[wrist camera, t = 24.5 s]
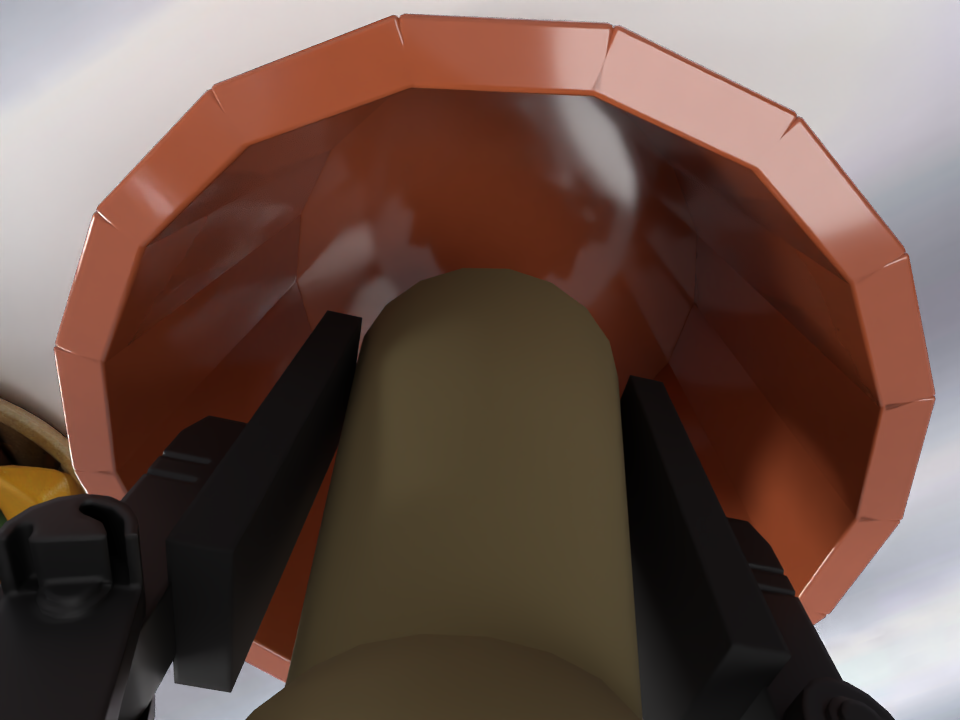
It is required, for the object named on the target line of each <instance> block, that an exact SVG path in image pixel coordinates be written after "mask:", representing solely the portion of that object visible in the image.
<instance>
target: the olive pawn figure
mask: <svg viewBox="0 0 960 720" xmlns="http://www.w3.org/2000/svg"><path fill="white" fill-rule="evenodd" d="M246 720H643V718H642V704H641V690H640V675H639V661H638V647H637V633H636V619H635V605H634V591H633V577H632V563H631V549H630V535H629V521H628V507H627V493H626V478H625V464H624V450H623V436H622V422H621V408H620V394H619V380H618V374H617V370H616V366H615V362H614V358H613V354H612V350H611V346H610V342H609V340H608V339H607V337H606V336H605V334H604V333H603V331H602V330H601V328H600V327H599V325H598V324H597V323H596V321H595V320H594V318H593V317H592V315H591V314H590V312H589V311H588V309H587V308H586V307H584V306H583V305H582V304H580V303H579V302H577V301H576V300H575V299H573V298H572V297H571V296H569V295H568V294H566V293H565V292H564V291H562V290H561V289H560V288H558V287H557V286H556V285H554V284H553V283H551V282H548V281H545V280H542V279H539V278H536V277H533V276H530V275H527V274H523V273H520V272H517V271H514V270H511V269H497V268H461V269H458V270H454V271H451V272H448V273H444V274H441V275H438V276H434V277H431V278H428V279H424V280H421V281H419V282H418V283H416V284H415V285H413V286H412V287H410V288H409V289H408V290H406V291H405V292H403V293H402V294H400V295H399V296H398V297H396V298H395V299H393V300H392V301H391V302H389V303H388V304H386V305H385V307H384V308H383V310H382V311H381V312H380V314H379V315H378V317H377V318H376V320H375V321H374V322H373V324H372V325H371V327H370V328H369V329H368V331H367V332H366V334H365V335H364V337H363V341H362V345H361V349H360V353H359V357H358V361H357V365H356V369H355V373H354V378H353V382H352V386H351V391H350V395H349V400H348V404H347V409H346V413H345V418H344V422H343V427H342V431H341V436H340V441H339V445H338V450H337V454H336V459H335V463H334V468H333V472H332V477H331V481H330V486H329V490H328V495H327V499H326V504H325V508H324V513H323V517H322V522H321V526H320V531H319V535H318V540H317V544H316V549H315V553H314V558H313V563H312V567H311V572H310V576H309V581H308V585H307V590H306V594H305V599H304V603H303V608H302V612H301V617H300V621H299V626H298V630H297V635H296V639H295V644H294V648H293V653H292V657H291V662H290V666H289V671H288V676H287V680H286V685H285V688H283V689H282V690H281V691H279V692H278V693H277V694H275V695H274V696H273V697H271V698H270V699H269V700H267V701H266V702H265V703H263V704H262V705H261V706H259V707H258V708H257V709H255V710H254V711H253V712H252V713H251V714H250V715H249V716H248V717H247V719H246Z"/></svg>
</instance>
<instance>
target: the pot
mask: <svg viewBox="0 0 960 720" xmlns="http://www.w3.org/2000/svg"><path fill="white" fill-rule="evenodd" d="M461 268H497V269H511V270H514V271H517V272H520V273H523V274H527V275H530V276H533V277H536V278H539V279H542V280H545V281H548V282H551V283H553V284H554V285H556V286H557V287H558V288H560V289H561V290H562V291H564V292H565V293H566V294H568V295H569V296H571V297H572V298H573V299H575V300H576V301H577V302H579V303H580V304H582V305H583V306H584V307H586V308H587V309H588V311H589V312H590V314H591V315H592V317H593V318H594V320H595V321H596V323H597V324H598V325H599V327H600V328H601V330H602V331H603V333H604V334H605V336H606V337H607V339H608V340H609V342H610V346H611V350H612V354H613V358H614V362H615V366H616V370H617V374H618V380H619V394H620V399H621V396H622V394H623V391H624V389H625V386H626V384H627V381H628V379H629V376H630V375H632V376H637V377H642V378H646V379H651V380H656V381H660V382H663V384H664V386H665V388H666V390H667V392H668V394H669V397H670V399H671V401H672V403H673V405H674V407H675V409H676V411H677V413H678V416H679V418H680V420H681V422H682V424H683V426H684V428H685V430H686V433H687V435H688V437H689V439H690V441H691V443H692V445H693V447H694V450H695V452H696V454H697V456H698V458H699V460H700V462H701V464H702V467H703V469H704V471H705V473H706V475H707V477H708V479H709V481H710V484H711V486H712V488H713V490H714V492H715V494H716V496H717V498H718V501H719V503H720V505H721V507H722V509H723V511H724V513H725V515H726V517H729V518H734V519H739V520H744V521H748V522H749V523H750V524H751V525H752V526H753V527H754V528H755V529H756V530H757V531H758V532H759V533H760V535H761V536H762V537H763V538H764V539H765V540H766V541H767V542H768V543H769V544H770V545H771V547H772V549H773V551H774V553H775V554H776V556H777V558H778V560H779V562H780V564H781V566H782V568H783V569H784V575H786V576H787V577H788V579H789V581H790V583H791V584H792V586H793V588H794V590H795V597H798V598H799V599H800V601H801V603H802V605H803V607H804V609H805V611H806V612H807V614H808V616H809V618H810V620H811V622H812V624H813V625H815V624H816V623H818V622H819V621H820V620H822V619H823V618H825V617H826V614H830V613H831V612H832V610H833V609H834V608H835V606H836V605H837V604H838V602H839V601H840V600H841V599H842V597H843V596H844V595H845V593H846V592H847V591H848V589H849V588H850V587H851V586H852V584H853V583H854V582H855V580H856V579H857V578H858V576H859V575H860V574H861V573H862V571H863V570H864V569H865V567H866V566H867V565H868V563H869V562H870V561H871V560H872V558H873V557H874V556H875V554H876V553H877V552H878V550H879V549H880V548H881V547H882V545H883V544H884V543H885V541H886V540H887V539H888V537H889V536H890V535H891V534H892V532H893V531H894V530H895V528H896V527H897V526H898V524H899V523H900V520H901V519H902V518H903V515H904V511H905V507H906V504H907V500H908V497H909V493H910V489H911V486H912V482H913V479H914V475H915V471H916V468H917V464H918V460H919V457H920V453H921V450H922V446H923V442H924V439H925V435H926V432H927V428H928V424H929V421H930V417H931V414H932V410H933V406H934V403H935V396H934V395H935V389H934V384H933V379H932V374H931V368H930V363H929V358H928V353H927V347H926V342H925V337H924V332H923V327H922V321H921V316H920V311H919V306H918V300H917V295H916V290H915V285H914V280H913V274H912V269H911V264H910V259H909V255H908V254H907V253H906V251H905V248H904V246H903V245H902V243H901V242H900V241H899V240H898V238H897V237H896V236H895V235H894V233H893V232H892V231H891V229H890V228H889V227H888V226H887V224H886V223H885V222H884V221H883V219H882V218H881V217H880V215H879V214H878V213H877V212H876V210H875V209H874V208H873V207H872V205H871V204H870V203H869V202H868V200H867V199H866V198H865V196H864V195H863V194H862V193H861V191H860V190H859V189H858V188H857V186H856V185H855V184H854V183H853V181H852V180H851V179H850V177H849V176H848V175H847V174H846V172H845V171H844V170H843V169H842V167H841V166H840V165H839V164H838V162H837V161H836V160H835V158H834V157H833V156H832V155H831V153H830V152H829V151H828V150H827V148H826V147H825V146H824V144H823V143H822V142H821V141H820V139H819V138H818V137H817V136H816V134H815V133H814V132H813V131H812V129H811V128H810V127H809V125H808V124H807V123H806V122H805V120H804V119H803V118H802V117H799V116H797V114H796V112H795V111H793V110H791V109H789V108H787V107H785V106H783V105H781V104H779V103H777V102H775V101H773V100H771V99H769V98H767V97H765V96H763V95H761V94H759V93H757V92H755V91H753V90H751V89H749V88H747V87H745V86H743V85H740V84H738V83H736V82H734V81H732V80H730V79H728V78H726V77H724V76H722V75H720V74H718V73H716V72H714V71H712V70H710V69H708V68H706V67H704V66H702V65H700V64H698V63H696V62H694V61H692V60H690V59H688V58H686V57H683V56H681V55H679V54H677V53H675V52H673V51H671V50H669V49H667V48H665V47H663V46H661V45H659V44H657V43H655V42H653V41H651V40H649V39H647V38H645V37H643V36H641V35H639V34H637V33H635V32H633V31H631V30H629V29H626V28H624V27H622V26H620V25H615V26H612V25H611V24H610V23H608V22H585V21H562V20H539V19H516V18H493V17H470V16H447V15H423V14H403V15H400V17H399V16H396V15H392V16H389V17H387V18H384V19H382V20H379V21H376V22H374V23H371V24H369V25H366V26H364V27H361V28H358V29H356V30H353V31H351V32H348V33H346V34H343V35H340V36H338V37H335V38H333V39H330V40H327V41H325V42H322V43H320V44H317V45H315V46H312V47H309V48H307V49H304V50H302V51H299V52H297V53H294V54H291V55H289V56H286V57H284V58H281V59H278V60H276V61H273V62H271V63H268V64H266V65H263V66H260V67H258V68H255V69H253V70H250V71H248V72H245V73H242V74H240V75H237V76H235V77H232V78H229V79H227V80H224V81H222V82H219V83H217V84H214V85H213V87H212V89H210V90H207V91H206V92H205V93H204V94H203V95H202V96H201V97H200V98H199V99H198V100H197V101H196V102H195V103H194V104H193V105H192V107H191V108H190V109H189V110H188V111H187V112H186V113H185V114H184V115H183V116H182V117H181V118H180V119H179V120H178V121H177V122H176V123H175V125H174V126H173V127H172V128H171V129H170V130H169V131H168V132H167V133H166V134H165V135H164V136H163V137H162V138H161V139H160V140H159V141H158V143H157V144H156V145H155V146H154V147H153V148H152V149H151V150H150V151H149V152H148V153H147V154H146V155H145V156H144V157H143V158H142V159H141V161H140V162H139V163H138V164H137V165H136V166H135V167H134V168H133V169H132V170H131V171H130V172H129V173H128V174H127V175H126V176H125V177H124V179H123V180H122V181H121V182H120V183H119V184H118V185H117V186H116V187H115V188H114V189H113V190H112V191H111V192H110V193H109V194H108V195H107V197H106V198H105V199H104V200H103V201H102V202H101V203H100V204H99V205H98V207H97V211H96V212H95V213H94V214H93V216H92V219H91V223H90V226H89V229H88V233H87V236H86V239H85V243H84V246H83V250H82V253H81V256H80V260H79V263H78V267H77V270H76V273H75V277H74V280H73V283H72V287H71V290H70V294H69V297H68V300H67V304H66V307H65V311H64V314H63V317H62V321H61V324H60V327H59V331H58V334H57V338H56V341H55V345H56V346H55V347H54V355H55V362H56V368H57V374H58V380H59V387H60V393H61V399H62V406H63V412H64V418H65V424H66V431H67V437H68V443H69V449H70V456H71V462H72V468H73V469H75V470H74V473H75V474H76V476H77V478H78V479H79V481H80V483H81V485H82V486H83V488H84V490H85V491H86V493H87V494H95V495H104V496H111V497H113V498H115V499H117V500H119V501H120V500H121V499H122V498H123V497H124V496H125V495H126V494H127V492H128V491H129V490H130V489H131V488H132V487H133V486H134V484H135V483H136V482H137V481H138V480H139V479H140V477H141V476H142V475H143V474H146V473H147V471H148V468H149V467H150V466H151V465H152V464H153V463H154V461H155V460H156V459H157V458H158V457H159V456H162V455H163V451H164V450H165V449H166V448H167V446H168V445H169V444H170V443H171V442H172V441H173V440H174V438H175V437H176V436H177V435H178V434H179V433H180V432H181V430H183V429H185V428H187V427H189V426H191V425H192V424H194V423H196V422H198V421H200V420H201V419H203V418H205V417H207V416H209V415H210V416H215V417H220V418H225V419H230V420H235V421H240V422H245V423H248V422H249V421H250V419H251V418H252V416H253V415H254V414H255V412H256V411H257V409H258V408H259V406H260V405H261V404H262V402H263V401H264V399H265V398H266V397H267V395H268V394H269V392H270V391H271V389H272V388H273V387H274V385H275V384H276V382H277V381H278V380H279V378H280V377H281V375H282V374H283V373H284V371H285V370H286V368H287V367H288V365H289V364H290V363H291V361H292V360H293V358H294V357H295V356H296V354H297V353H298V351H299V350H300V348H301V347H302V346H303V344H304V343H305V341H306V340H307V339H308V337H309V336H310V334H311V333H312V331H313V330H314V329H315V327H316V326H317V324H318V323H319V322H320V320H321V319H322V317H323V316H324V315H325V313H326V312H327V310H329V311H334V312H338V313H343V314H348V315H352V316H357V317H362V326H361V333H360V341H359V349H358V357H359V353H360V349H361V345H362V341H363V337H364V335H365V334H366V332H367V331H368V329H369V328H370V327H371V325H372V324H373V322H374V321H375V320H376V318H377V317H378V315H379V314H380V312H381V311H382V310H383V308H384V307H385V305H386V304H388V303H389V302H391V301H392V300H393V299H395V298H396V297H398V296H399V295H400V294H402V293H403V292H405V291H406V290H408V289H409V288H410V287H412V286H413V285H415V284H416V283H418V282H419V281H421V280H424V279H428V278H431V277H434V276H438V275H441V274H444V273H448V272H451V271H454V270H458V269H461ZM358 357H357V361H358ZM356 365H357V364H356ZM337 450H338V447H337ZM337 450H336V452H335V454H334V456H333V459H332V461H331V463H330V466H329V468H328V470H327V473H326V475H325V477H324V480H323V482H322V484H321V486H320V489H319V491H318V493H317V496H316V498H315V500H314V503H313V505H312V507H311V509H310V512H309V514H308V516H307V519H306V521H305V523H304V526H303V528H302V530H301V532H300V535H299V537H298V539H297V542H296V544H295V546H294V549H293V551H292V553H291V556H290V558H289V560H288V562H287V565H286V567H285V569H284V572H283V574H282V576H281V579H280V581H279V583H278V585H277V588H276V590H275V592H274V595H273V597H272V599H271V602H270V604H269V606H268V608H267V611H266V613H265V615H264V618H263V620H262V622H261V625H260V627H259V629H258V632H257V634H256V636H255V638H254V641H253V643H252V645H251V648H250V650H249V652H248V655H247V657H246V659H245V662H247V663H249V664H251V665H253V666H254V667H256V668H258V669H260V670H262V671H264V672H266V673H268V674H269V675H271V676H273V677H275V678H277V679H279V680H281V681H283V682H284V683H286V680H287V676H288V671H289V666H290V662H291V657H292V653H293V648H294V644H295V639H296V635H297V630H298V626H299V621H300V617H301V612H302V608H303V603H304V599H305V594H306V590H307V585H308V581H309V576H310V572H311V567H312V563H313V558H314V553H315V549H316V544H317V540H318V535H319V531H320V526H321V522H322V517H323V513H324V508H325V504H326V499H327V495H328V490H329V486H330V481H331V477H332V472H333V468H334V463H335V459H336V454H337Z"/></svg>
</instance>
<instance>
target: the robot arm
mask: <svg viewBox="0 0 960 720" xmlns="http://www.w3.org/2000/svg"><path fill="white" fill-rule="evenodd" d="M361 326H362V317H357V316H352V315H348V314H343V313H338V312H334V311H329V310H327V312H326V313H325V315H324V316H323V317H322V319H321V320H320V322H319V323H318V324H317V326H316V327H315V329H314V330H313V331H312V333H311V334H310V336H309V337H308V339H307V340H306V341H305V343H304V344H303V346H302V347H301V348H300V350H299V351H298V353H297V354H296V356H295V357H294V358H293V360H292V361H291V363H290V364H289V365H288V367H287V368H286V370H285V371H284V373H283V374H282V375H281V377H280V378H279V380H278V381H277V382H276V384H275V385H274V387H273V388H272V389H271V391H270V392H269V394H268V395H267V397H266V398H265V399H264V401H263V402H262V404H261V405H260V406H259V408H258V409H257V411H256V412H255V414H254V415H253V416H252V418H251V419H250V421H249V422H248V423H245V422H240V421H235V420H230V419H225V418H220V417H215V416H210V415H209V416H207V417H205V418H203V419H201V420H200V421H198V422H196V423H194V424H192V425H191V426H189V427H187V428H185V429H183V430H181V432H180V433H179V434H178V435H177V436H176V437H175V438H174V440H173V441H172V442H171V443H170V444H169V445H168V446H167V448H166V449H165V450H164V451H163V455H162V456H159V457H158V458H157V459H156V460H155V461H154V463H153V464H152V465H151V466H150V467H149V468H148V471H147V473H146V474H143V475H142V476H141V477H140V479H139V480H138V481H137V482H136V483H135V484H134V486H133V487H132V488H131V489H130V490H129V491H128V492H127V494H126V495H125V496H124V497H123V498H122V499H121V500H120V501H119V500H117V499H115V498H113V497H111V496H104V495H95V494H78V495H70V496H62V497H57V498H54V499H51V500H48V501H45V502H43V503H40V504H37V505H34V506H31V507H29V508H27V509H26V510H24V511H23V512H21V513H19V514H18V515H16V516H15V517H13V518H11V519H10V520H8V521H6V522H5V523H4V525H3V526H2V527H1V528H0V583H1V584H0V720H154V717H155V692H156V690H157V688H158V687H159V685H160V683H161V681H162V679H163V677H164V676H165V674H166V672H167V670H168V668H169V667H170V665H171V663H172V661H173V666H174V681H175V683H177V684H183V685H189V686H194V687H200V688H206V689H212V690H218V691H224V692H230V693H231V691H232V689H233V687H234V684H235V682H236V680H237V678H238V675H239V673H240V671H241V668H242V666H243V664H244V661H245V659H246V657H247V655H248V652H249V650H250V648H251V645H252V643H253V641H254V638H255V636H256V634H257V632H258V629H259V627H260V625H261V622H262V620H263V618H264V615H265V613H266V611H267V608H268V606H269V604H270V602H271V599H272V597H273V595H274V592H275V590H276V588H277V585H278V583H279V581H280V579H281V576H282V574H283V572H284V569H285V567H286V565H287V562H288V560H289V558H290V556H291V553H292V551H293V549H294V546H295V544H296V542H297V539H298V537H299V535H300V532H301V530H302V528H303V526H304V523H305V521H306V519H307V516H308V514H309V512H310V509H311V507H312V505H313V503H314V500H315V498H316V496H317V493H318V491H319V489H320V486H321V484H322V482H323V480H324V477H325V475H326V473H327V470H328V468H329V466H330V463H331V461H332V459H333V456H334V454H335V452H336V450H337V447H338V445H339V441H340V436H341V431H342V427H343V422H344V418H345V413H346V409H347V404H348V400H349V395H350V391H351V386H352V382H353V378H354V373H355V369H356V364H357V357H358V349H359V341H360V333H361ZM620 408H621V422H622V436H623V450H624V464H625V478H626V493H627V507H628V521H629V535H630V549H631V563H632V577H633V591H634V605H635V619H636V633H637V647H638V661H639V675H640V690H641V704H642V717H643V720H895V719H894V718H893V717H892V716H891V714H890V713H889V712H888V711H887V710H886V709H885V708H883V707H882V706H881V705H880V704H879V703H878V702H876V701H875V700H874V699H873V698H872V697H871V696H869V695H868V694H867V693H865V692H863V691H862V690H860V689H858V688H856V687H855V686H853V685H851V684H849V683H848V682H845V681H843V680H842V678H841V676H840V674H839V672H838V670H837V669H836V667H835V665H834V663H833V661H832V659H831V657H830V656H829V654H828V652H827V650H826V648H825V646H824V644H823V642H822V641H821V639H820V637H819V635H818V633H817V631H816V629H815V627H814V626H813V624H812V622H811V620H810V618H809V616H808V614H807V612H806V611H805V609H804V607H803V605H802V603H801V601H800V599H799V598H798V597H795V590H794V588H793V586H792V584H791V583H790V581H789V579H788V577H787V576H786V575H784V569H783V568H782V566H781V564H780V562H779V560H778V558H777V556H776V554H775V553H774V551H773V549H772V547H771V545H770V544H769V543H768V542H767V541H766V540H765V539H764V538H763V537H762V536H761V535H760V533H759V532H758V531H757V530H756V529H755V528H754V527H753V526H752V525H751V524H750V523H749V522H748V521H744V520H739V519H734V518H729V517H726V515H725V513H724V511H723V509H722V507H721V505H720V503H719V501H718V498H717V496H716V494H715V492H714V490H713V488H712V486H711V484H710V481H709V479H708V477H707V475H706V473H705V471H704V469H703V467H702V464H701V462H700V460H699V458H698V456H697V454H696V452H695V450H694V447H693V445H692V443H691V441H690V439H689V437H688V435H687V433H686V430H685V428H684V426H683V424H682V422H681V420H680V418H679V416H678V413H677V411H676V409H675V407H674V405H673V403H672V401H671V399H670V397H669V394H668V392H667V390H666V388H665V386H664V384H663V382H660V381H656V380H651V379H646V378H642V377H637V376H632V375H630V376H629V379H628V381H627V384H626V386H625V389H624V391H623V394H622V396H621V399H620Z"/></svg>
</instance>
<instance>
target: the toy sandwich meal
mask: <svg viewBox="0 0 960 720" xmlns="http://www.w3.org/2000/svg"><path fill="white" fill-rule="evenodd" d="M74 470H75V469H73V468H72V462H71V456H70V449H69V443H68V439H67V438H66V437H64V436H63V435H62V434H61V433H60V432H58V431H57V430H56V429H54V428H53V427H52V426H50V425H49V424H47V423H46V422H44V421H43V420H41V419H40V418H38V417H37V416H35V415H33V414H31V413H30V412H28V411H26V410H24V409H22V408H20V407H18V406H16V405H14V404H12V403H10V402H8V401H5V400H3V399H1V398H0V528H1V527H2V526H3V525H4V523H5V522H6V521H8V520H10V519H11V518H13V517H15V516H16V515H18V514H19V513H21V512H23V511H24V510H26V509H27V508H29V507H31V506H34V505H37V504H40V503H43V502H45V501H48V500H51V499H54V498H57V497H62V496H70V495H78V494H87V493H86V491H85V490H84V488H83V486H82V485H81V483H80V481H79V479H78V478H77V476H76V474H75V473H74ZM0 584H1V583H0Z"/></svg>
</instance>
